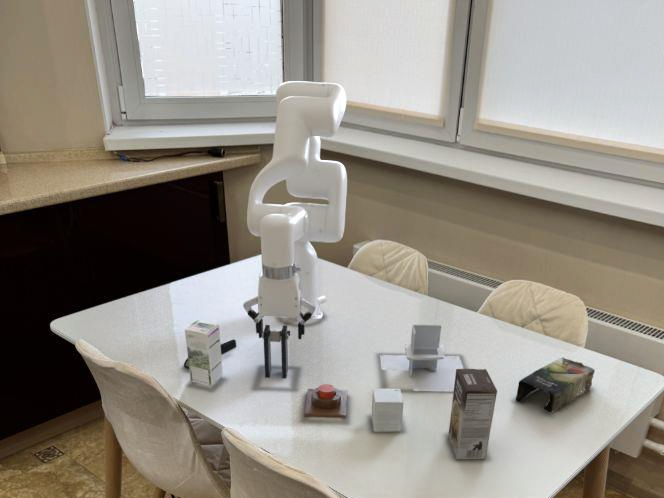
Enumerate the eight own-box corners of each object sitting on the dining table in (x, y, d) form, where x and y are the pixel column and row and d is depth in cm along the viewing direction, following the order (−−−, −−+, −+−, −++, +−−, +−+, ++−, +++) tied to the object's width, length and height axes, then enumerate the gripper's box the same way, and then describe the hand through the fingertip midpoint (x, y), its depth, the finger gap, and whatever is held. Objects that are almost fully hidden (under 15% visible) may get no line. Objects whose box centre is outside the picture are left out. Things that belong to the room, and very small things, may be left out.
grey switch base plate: (472, 391, 163) (478, 347, 157) (384, 390, 162) (387, 345, 156) (459, 356, 179) (464, 314, 173) (379, 354, 178) (382, 312, 172)
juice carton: (557, 373, 173) (562, 351, 169) (593, 388, 167) (599, 365, 164) (513, 401, 160) (517, 378, 157) (550, 418, 155) (555, 394, 151)
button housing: (307, 396, 159) (307, 380, 156) (346, 397, 159) (347, 382, 157) (304, 421, 149) (304, 405, 147) (345, 422, 149) (346, 407, 147)
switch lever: (270, 337, 170) (270, 327, 169) (290, 338, 170) (290, 328, 170) (263, 341, 158) (263, 330, 158) (285, 342, 158) (285, 331, 158)
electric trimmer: (240, 352, 177) (239, 340, 175) (193, 372, 166) (192, 360, 164) (230, 348, 179) (229, 336, 177) (182, 367, 168) (181, 355, 166)
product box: (370, 417, 152) (372, 387, 148) (398, 417, 152) (400, 387, 148) (373, 432, 147) (374, 402, 143) (401, 432, 147) (404, 402, 143)
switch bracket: (260, 367, 170) (258, 318, 163) (297, 368, 170) (296, 320, 163) (254, 388, 161) (252, 338, 154) (293, 390, 161) (292, 339, 154)
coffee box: (446, 435, 147) (455, 367, 138) (476, 435, 147) (486, 367, 139) (455, 460, 139) (464, 390, 130) (486, 459, 140) (498, 390, 131)
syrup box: (224, 379, 164) (220, 322, 156) (211, 390, 159) (206, 333, 151) (203, 375, 165) (197, 318, 157) (190, 386, 160) (183, 328, 153)
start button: (318, 390, 154) (318, 383, 153) (334, 391, 154) (335, 384, 153) (317, 398, 151) (317, 391, 150) (334, 399, 151) (334, 392, 150)
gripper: (316, 265, 164) (316, 330, 173) (243, 262, 163) (247, 328, 173) (314, 277, 157) (314, 344, 167) (238, 274, 157) (243, 342, 167)
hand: (280, 336), depth 170 cm, fingers open, 9 cm apart
